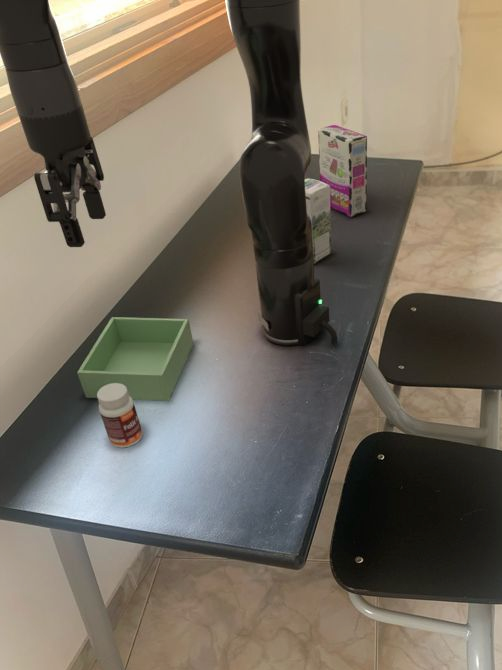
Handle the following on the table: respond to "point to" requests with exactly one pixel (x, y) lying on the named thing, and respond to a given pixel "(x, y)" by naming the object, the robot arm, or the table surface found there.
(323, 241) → the syrup box
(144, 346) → the basket
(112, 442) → the pill bottle
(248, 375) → the table surface
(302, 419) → the table surface
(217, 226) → the table surface
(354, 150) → the candy bar box
